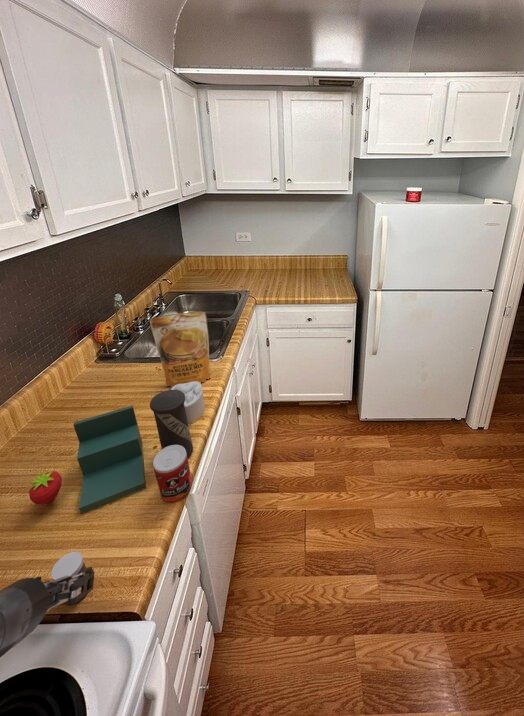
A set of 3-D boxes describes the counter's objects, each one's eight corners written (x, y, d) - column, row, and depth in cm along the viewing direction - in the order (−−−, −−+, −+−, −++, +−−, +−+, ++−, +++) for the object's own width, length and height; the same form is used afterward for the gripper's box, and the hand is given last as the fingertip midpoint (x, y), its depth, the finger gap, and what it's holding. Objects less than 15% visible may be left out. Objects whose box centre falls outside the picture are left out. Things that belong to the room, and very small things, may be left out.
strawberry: (72, 486, 86) (61, 457, 82) (59, 513, 79) (46, 484, 76) (46, 491, 85) (34, 462, 81) (30, 519, 78) (16, 489, 74)
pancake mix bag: (163, 380, 128) (149, 314, 118) (214, 371, 133) (205, 308, 123) (160, 390, 122) (146, 322, 112) (214, 381, 127) (205, 315, 117)
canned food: (159, 508, 81) (151, 475, 77) (160, 480, 88) (153, 449, 83) (193, 497, 83) (186, 465, 79) (191, 471, 90) (185, 440, 86)
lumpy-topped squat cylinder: (204, 396, 119) (201, 376, 116) (205, 420, 108) (201, 399, 105) (173, 402, 116) (169, 381, 113) (170, 428, 105) (166, 406, 102)
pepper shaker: (61, 611, 62) (48, 586, 59) (65, 585, 66) (53, 559, 63) (91, 596, 64) (80, 571, 61) (93, 571, 68) (83, 546, 65)
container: (176, 470, 91) (163, 412, 83) (155, 456, 95) (141, 400, 87) (200, 448, 97) (191, 393, 90) (180, 436, 102) (169, 382, 94)
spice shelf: (81, 513, 79) (64, 471, 74) (87, 461, 93) (73, 422, 88) (145, 488, 86) (134, 447, 80) (142, 442, 100) (132, 405, 94)
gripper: (60, 578, 49) (108, 546, 64) (-52, 600, 47) (25, 561, 61) (51, 645, 46) (104, 595, 61) (-69, 672, 44) (16, 613, 58)
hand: (64, 578), depth 61 cm, fingers open, 8 cm apart
